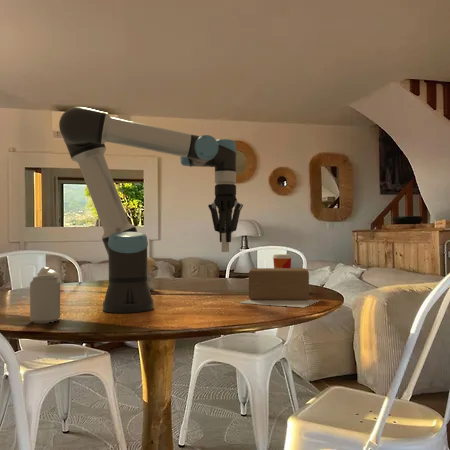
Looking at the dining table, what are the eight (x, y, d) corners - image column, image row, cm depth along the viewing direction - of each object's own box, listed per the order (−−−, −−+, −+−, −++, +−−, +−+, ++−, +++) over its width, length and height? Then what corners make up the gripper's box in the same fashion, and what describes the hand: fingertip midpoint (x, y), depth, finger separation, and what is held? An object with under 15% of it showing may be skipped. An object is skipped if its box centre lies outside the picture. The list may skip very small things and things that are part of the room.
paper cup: (269, 289, 191) (269, 254, 191) (287, 288, 193) (286, 254, 193) (277, 291, 183) (277, 255, 184) (295, 290, 186) (295, 254, 186)
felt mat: (303, 308, 143) (303, 307, 143) (239, 303, 154) (239, 302, 154) (320, 301, 157) (320, 300, 157) (260, 297, 168) (260, 296, 168)
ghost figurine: (41, 290, 194) (41, 266, 194) (64, 290, 194) (64, 265, 194) (31, 293, 185) (31, 267, 185) (55, 293, 185) (55, 267, 185)
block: (250, 296, 168) (307, 296, 166) (248, 300, 158) (309, 300, 156) (249, 268, 168) (306, 268, 167) (248, 270, 158) (309, 270, 157)
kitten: (155, 293, 182) (155, 254, 182) (129, 293, 182) (129, 254, 182) (160, 288, 197) (160, 252, 197) (136, 288, 197) (136, 252, 197)
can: (63, 318, 130) (63, 274, 130) (55, 323, 122) (54, 277, 123) (36, 318, 130) (36, 275, 130) (25, 324, 122) (25, 277, 122)
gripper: (246, 184, 166) (246, 251, 166) (215, 186, 172) (214, 251, 172) (236, 182, 159) (236, 252, 159) (203, 184, 166) (203, 251, 165)
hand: (225, 251), depth 166 cm, fingers closed
